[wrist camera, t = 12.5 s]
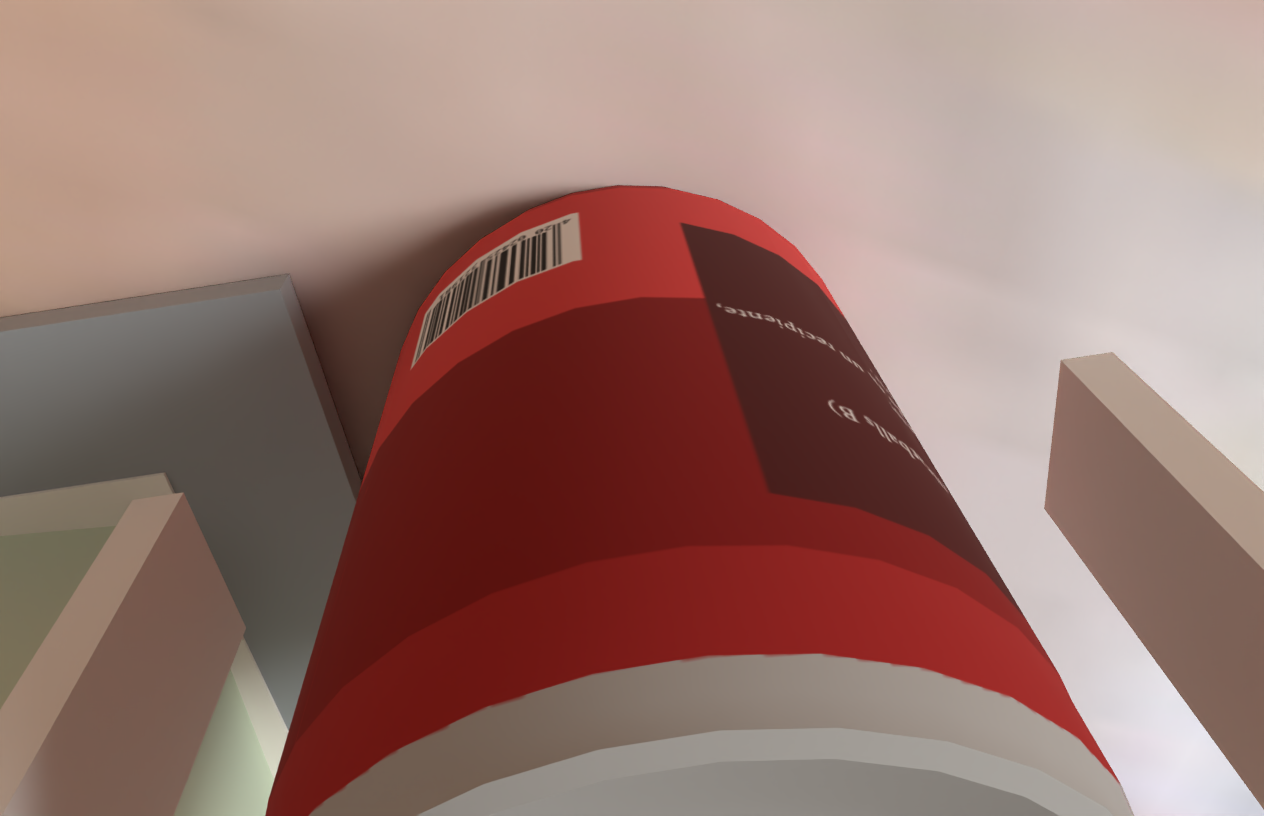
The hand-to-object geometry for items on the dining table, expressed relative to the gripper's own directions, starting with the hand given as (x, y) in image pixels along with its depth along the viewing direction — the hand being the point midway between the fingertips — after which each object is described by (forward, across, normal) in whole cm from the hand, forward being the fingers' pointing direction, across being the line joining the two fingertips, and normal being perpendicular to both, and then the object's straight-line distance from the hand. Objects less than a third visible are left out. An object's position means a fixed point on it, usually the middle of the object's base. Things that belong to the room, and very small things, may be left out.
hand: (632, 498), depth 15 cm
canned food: (+3, 0, 0) cm, 3 cm away
